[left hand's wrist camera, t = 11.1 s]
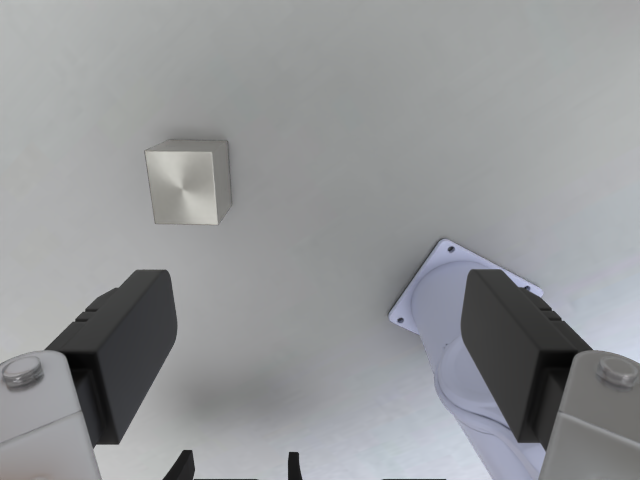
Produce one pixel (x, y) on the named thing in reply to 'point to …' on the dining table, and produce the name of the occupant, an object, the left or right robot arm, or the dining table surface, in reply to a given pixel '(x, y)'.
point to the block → (189, 181)
